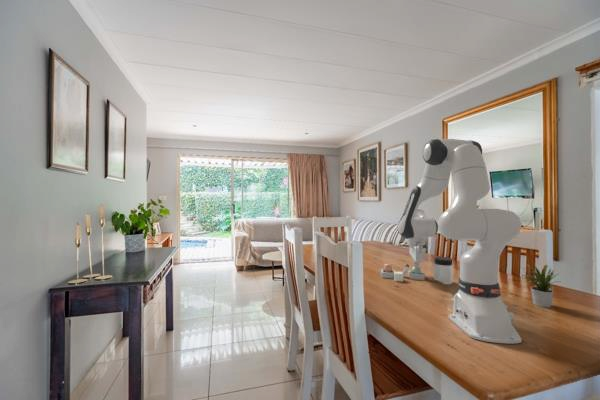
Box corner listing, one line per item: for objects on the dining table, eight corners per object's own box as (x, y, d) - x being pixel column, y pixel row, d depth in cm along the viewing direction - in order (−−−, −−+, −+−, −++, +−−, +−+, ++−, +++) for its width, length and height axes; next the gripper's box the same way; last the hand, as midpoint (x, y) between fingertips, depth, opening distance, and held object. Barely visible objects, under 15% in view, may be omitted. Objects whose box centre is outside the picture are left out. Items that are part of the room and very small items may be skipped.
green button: (421, 276, 144) (421, 268, 144) (412, 276, 145) (412, 268, 145) (419, 274, 148) (419, 266, 148) (411, 274, 148) (411, 266, 148)
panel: (430, 286, 135) (429, 278, 135) (382, 283, 140) (382, 275, 140) (424, 278, 149) (424, 270, 149) (380, 276, 154) (380, 268, 154)
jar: (448, 286, 136) (448, 261, 136) (431, 282, 142) (431, 258, 142) (455, 282, 142) (455, 258, 142) (438, 278, 148) (438, 256, 148)
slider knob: (403, 281, 140) (403, 273, 139) (394, 281, 140) (394, 273, 140) (402, 279, 143) (402, 271, 143) (393, 278, 144) (393, 271, 144)
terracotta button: (392, 273, 147) (392, 265, 147) (384, 272, 148) (384, 265, 148) (391, 271, 151) (391, 263, 151) (383, 270, 152) (383, 263, 152)
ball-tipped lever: (404, 277, 146) (410, 265, 146) (400, 276, 147) (406, 264, 146) (403, 276, 149) (409, 264, 148) (399, 274, 149) (405, 263, 148)
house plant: (521, 294, 123) (521, 257, 122) (565, 303, 113) (565, 262, 113) (515, 304, 113) (515, 263, 112) (563, 314, 103) (563, 269, 103)
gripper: (426, 244, 135) (427, 273, 135) (418, 238, 155) (419, 263, 155) (412, 244, 137) (413, 272, 137) (406, 237, 156) (406, 262, 157)
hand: (416, 267), depth 146 cm, fingers closed, pressing on green button
